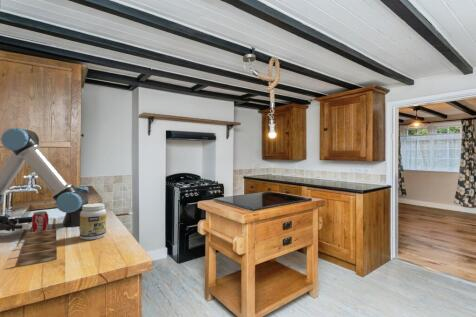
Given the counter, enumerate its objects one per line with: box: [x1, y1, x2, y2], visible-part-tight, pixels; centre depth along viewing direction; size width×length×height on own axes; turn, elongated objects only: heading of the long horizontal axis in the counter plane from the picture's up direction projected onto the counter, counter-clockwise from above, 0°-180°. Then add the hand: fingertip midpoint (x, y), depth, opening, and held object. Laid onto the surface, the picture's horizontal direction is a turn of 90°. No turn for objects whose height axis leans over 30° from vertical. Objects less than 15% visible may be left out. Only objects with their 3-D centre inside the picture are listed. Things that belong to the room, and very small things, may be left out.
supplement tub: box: [79, 202, 107, 241], centre depth 137 cm, size 12×12×17 cm
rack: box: [18, 228, 58, 267], centre depth 118 cm, size 12×34×4 cm, turn 35°
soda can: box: [31, 210, 49, 232], centre depth 139 cm, size 7×7×12 cm
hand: (39, 222), depth 139 cm, fingers open, 13 cm apart
